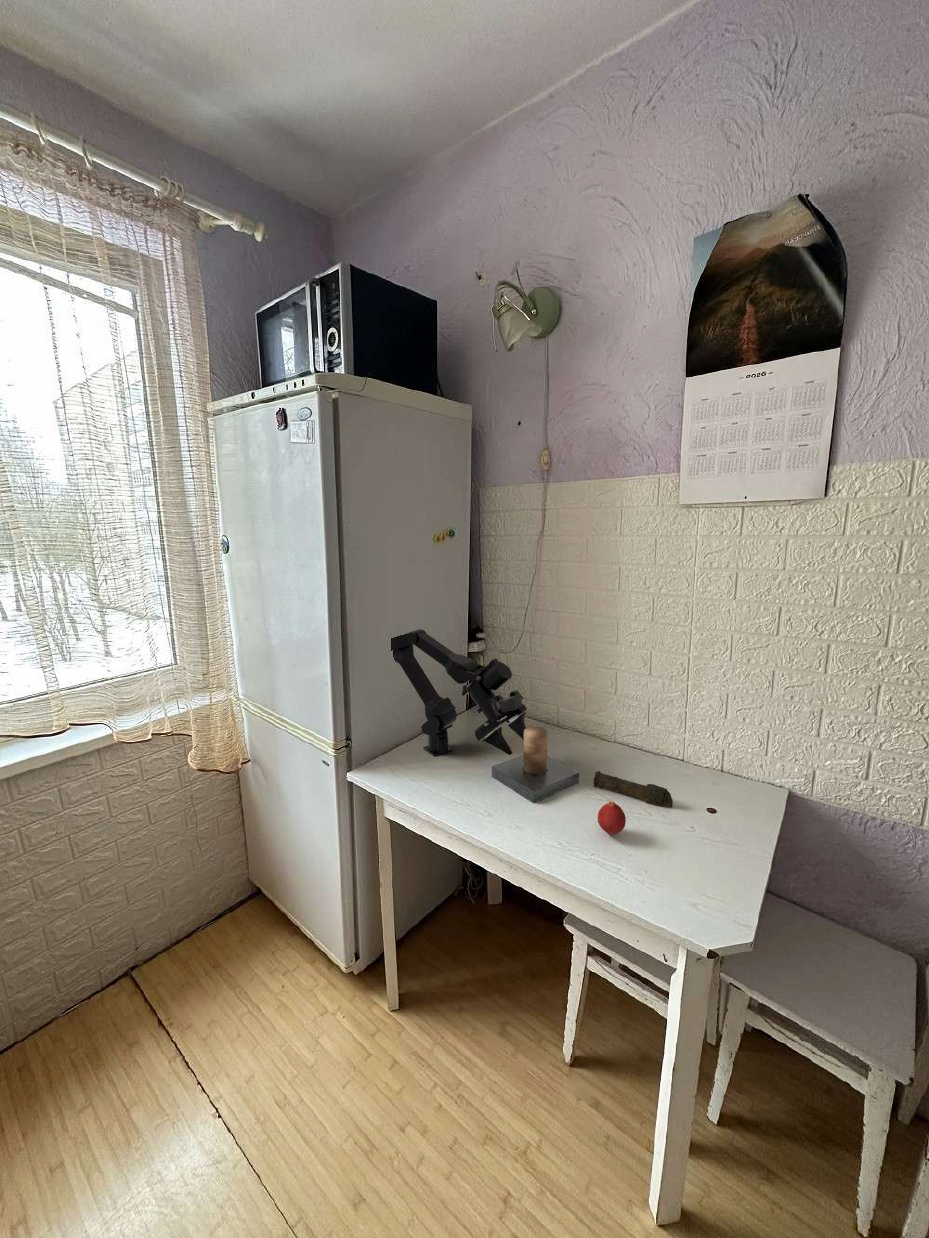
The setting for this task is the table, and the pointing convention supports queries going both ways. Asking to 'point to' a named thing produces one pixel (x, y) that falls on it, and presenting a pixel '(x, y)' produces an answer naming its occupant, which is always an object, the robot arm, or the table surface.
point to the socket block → (535, 778)
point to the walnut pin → (535, 750)
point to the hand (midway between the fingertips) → (520, 747)
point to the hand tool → (635, 789)
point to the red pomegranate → (611, 818)
